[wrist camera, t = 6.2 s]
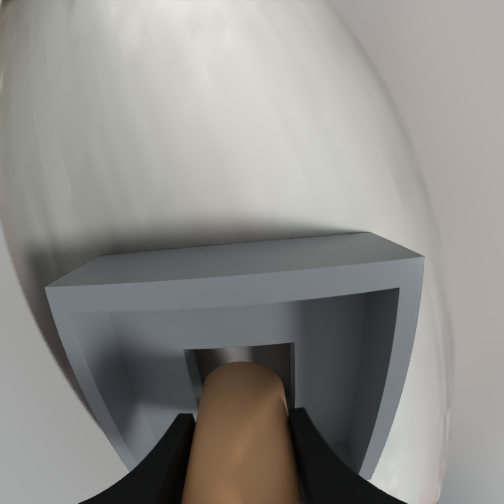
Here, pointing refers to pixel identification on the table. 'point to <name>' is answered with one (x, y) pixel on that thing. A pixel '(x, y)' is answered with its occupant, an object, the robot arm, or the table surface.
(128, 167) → the table surface
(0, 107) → the table surface
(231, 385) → the peg
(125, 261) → the box
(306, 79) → the table surface
